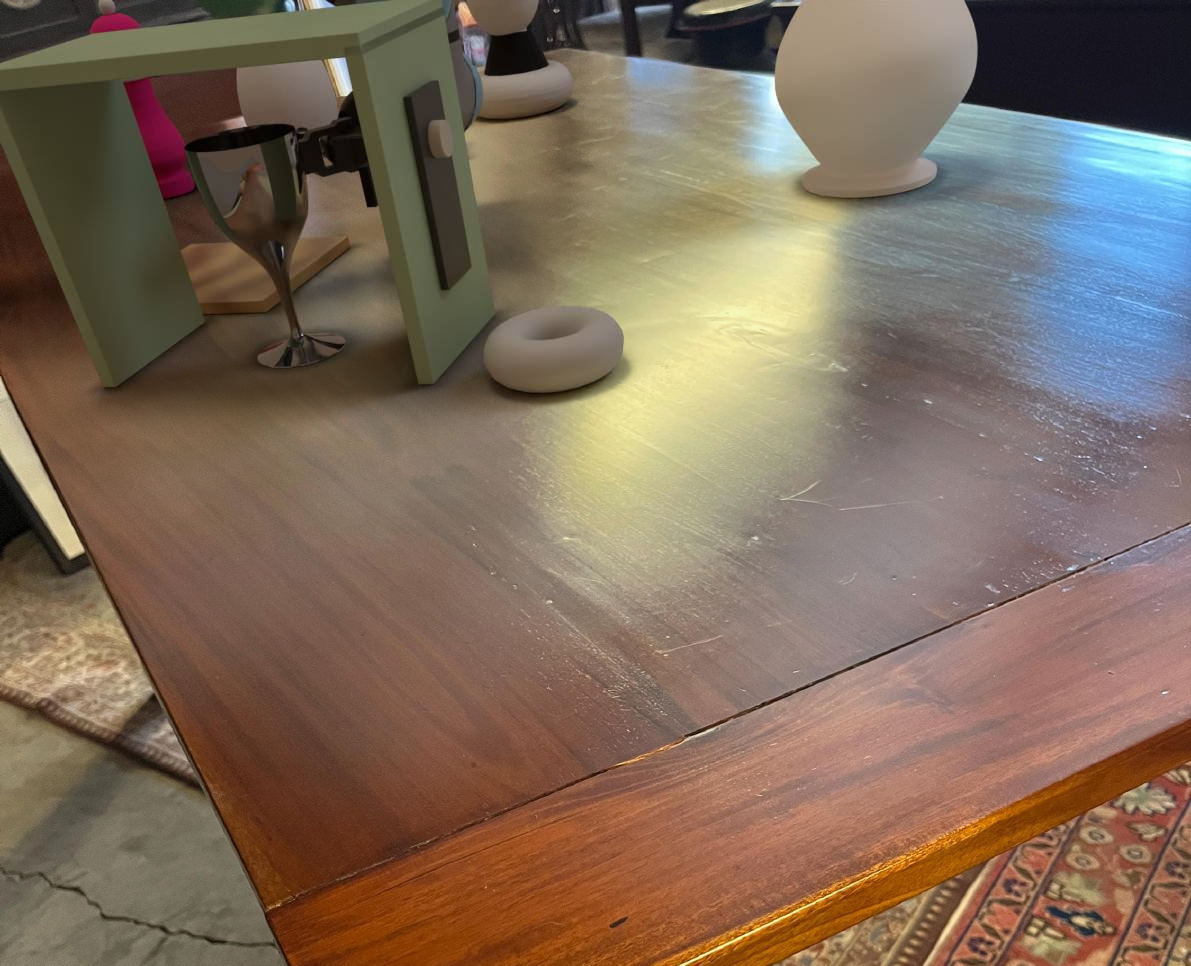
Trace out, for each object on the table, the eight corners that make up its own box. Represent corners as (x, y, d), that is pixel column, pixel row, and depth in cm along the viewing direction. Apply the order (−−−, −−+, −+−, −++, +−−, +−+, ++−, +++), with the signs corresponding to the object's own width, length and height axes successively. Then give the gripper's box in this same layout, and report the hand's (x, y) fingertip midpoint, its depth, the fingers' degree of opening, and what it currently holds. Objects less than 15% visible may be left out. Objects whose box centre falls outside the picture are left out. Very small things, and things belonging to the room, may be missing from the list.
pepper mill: (175, 200, 133) (107, -1, 120) (128, 201, 135) (57, 5, 122) (210, 183, 138) (149, -12, 124) (164, 185, 140) (99, -6, 127)
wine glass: (350, 325, 91) (297, 117, 81) (351, 358, 85) (293, 139, 75) (255, 342, 90) (190, 135, 80) (249, 377, 84) (177, 158, 74)
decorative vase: (812, 218, 98) (819, -148, 81) (751, 174, 111) (746, -148, 95) (999, 183, 99) (1043, -183, 83) (917, 144, 113) (941, -178, 96)
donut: (469, 371, 81) (517, 413, 73) (460, 323, 78) (508, 361, 71) (592, 337, 83) (650, 374, 76) (587, 289, 81) (646, 322, 73)
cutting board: (94, 317, 101) (89, 306, 100) (194, 254, 113) (191, 243, 113) (266, 312, 96) (262, 300, 95) (350, 246, 109) (348, 236, 108)
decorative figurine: (586, 93, 153) (567, -89, 140) (560, 118, 143) (537, -76, 130) (486, 102, 157) (458, -75, 144) (453, 126, 147) (421, -61, 133)
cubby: (103, 387, 87) (-30, 72, 72) (193, 322, 96) (92, 33, 82) (452, 384, 79) (380, 29, 64) (512, 313, 88) (461, -8, 74)
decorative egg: (359, 137, 149) (329, 2, 139) (327, 160, 140) (293, 18, 130) (276, 144, 151) (241, 13, 141) (240, 168, 143) (200, 29, 133)
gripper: (529, 163, 98) (447, 238, 83) (282, 180, 104) (164, 251, 89) (516, 64, 93) (425, 124, 78) (257, 88, 99) (128, 147, 84)
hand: (286, 192), depth 84 cm, fingers open, 13 cm apart
